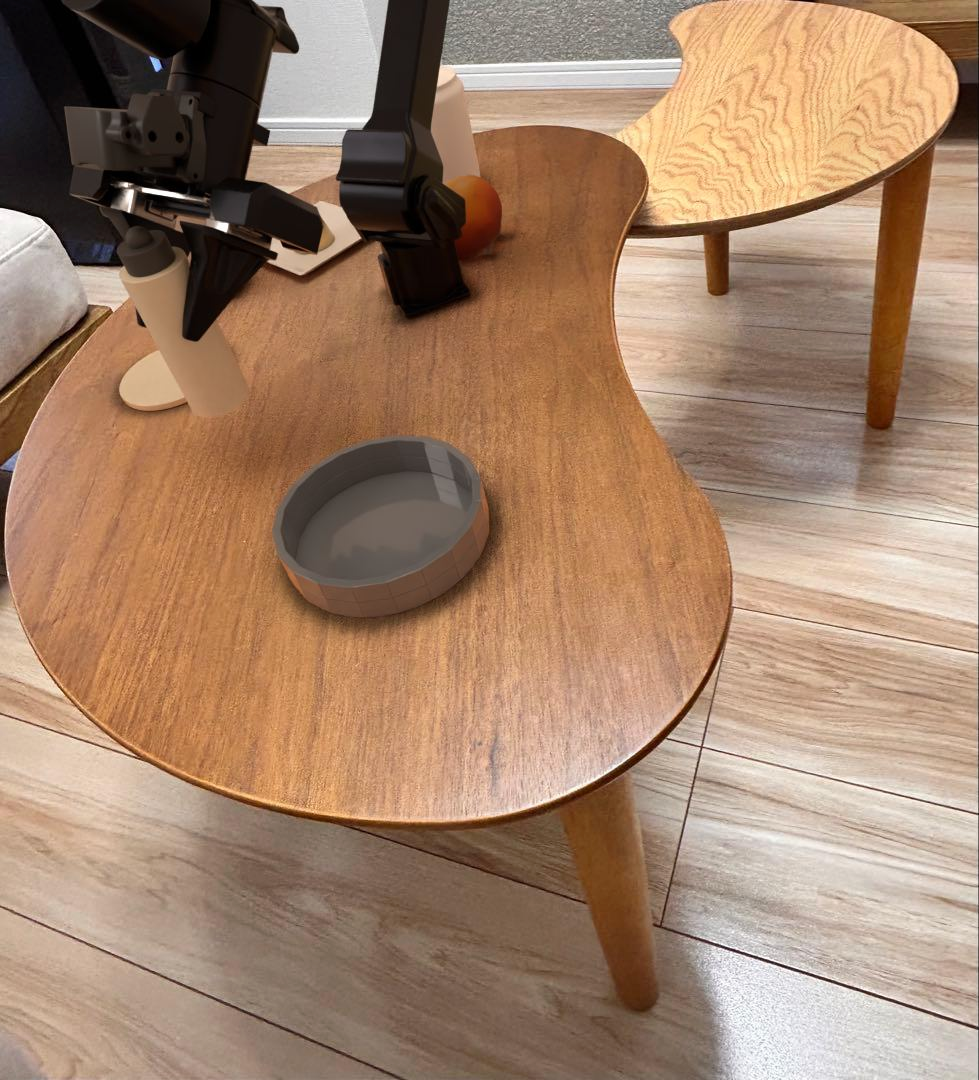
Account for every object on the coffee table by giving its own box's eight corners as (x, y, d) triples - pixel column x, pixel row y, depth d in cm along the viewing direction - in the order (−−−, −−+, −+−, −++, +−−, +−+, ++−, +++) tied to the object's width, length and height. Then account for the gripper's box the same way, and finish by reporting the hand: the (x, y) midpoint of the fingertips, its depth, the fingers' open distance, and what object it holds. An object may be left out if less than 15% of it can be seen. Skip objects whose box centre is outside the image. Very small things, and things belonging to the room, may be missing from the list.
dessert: (323, 209, 100) (310, 168, 96) (390, 231, 93) (378, 187, 89) (240, 258, 95) (223, 217, 91) (304, 285, 88) (287, 241, 85)
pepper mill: (259, 380, 64) (179, 208, 55) (234, 418, 62) (146, 244, 52) (207, 381, 66) (121, 212, 56) (181, 418, 63) (85, 247, 53)
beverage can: (400, 210, 96) (370, 97, 87) (428, 176, 101) (402, 66, 92) (467, 209, 93) (442, 92, 85) (492, 175, 98) (471, 61, 89)
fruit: (516, 251, 82) (460, 184, 78) (457, 293, 86) (401, 232, 83) (530, 210, 87) (478, 146, 83) (473, 252, 92) (422, 193, 88)
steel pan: (454, 447, 66) (444, 411, 63) (520, 571, 56) (512, 534, 53) (276, 513, 64) (258, 478, 62) (311, 653, 54) (292, 618, 52)
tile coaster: (220, 333, 84) (218, 328, 84) (233, 386, 77) (230, 381, 77) (120, 368, 83) (117, 362, 83) (124, 424, 76) (120, 419, 76)
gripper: (13, 29, 53) (-29, 281, 56) (212, 33, 44) (151, 335, 47) (164, 107, 63) (123, 319, 65) (353, 123, 54) (297, 370, 56)
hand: (167, 333), depth 58 cm, fingers closed on pepper mill, 4 cm apart
